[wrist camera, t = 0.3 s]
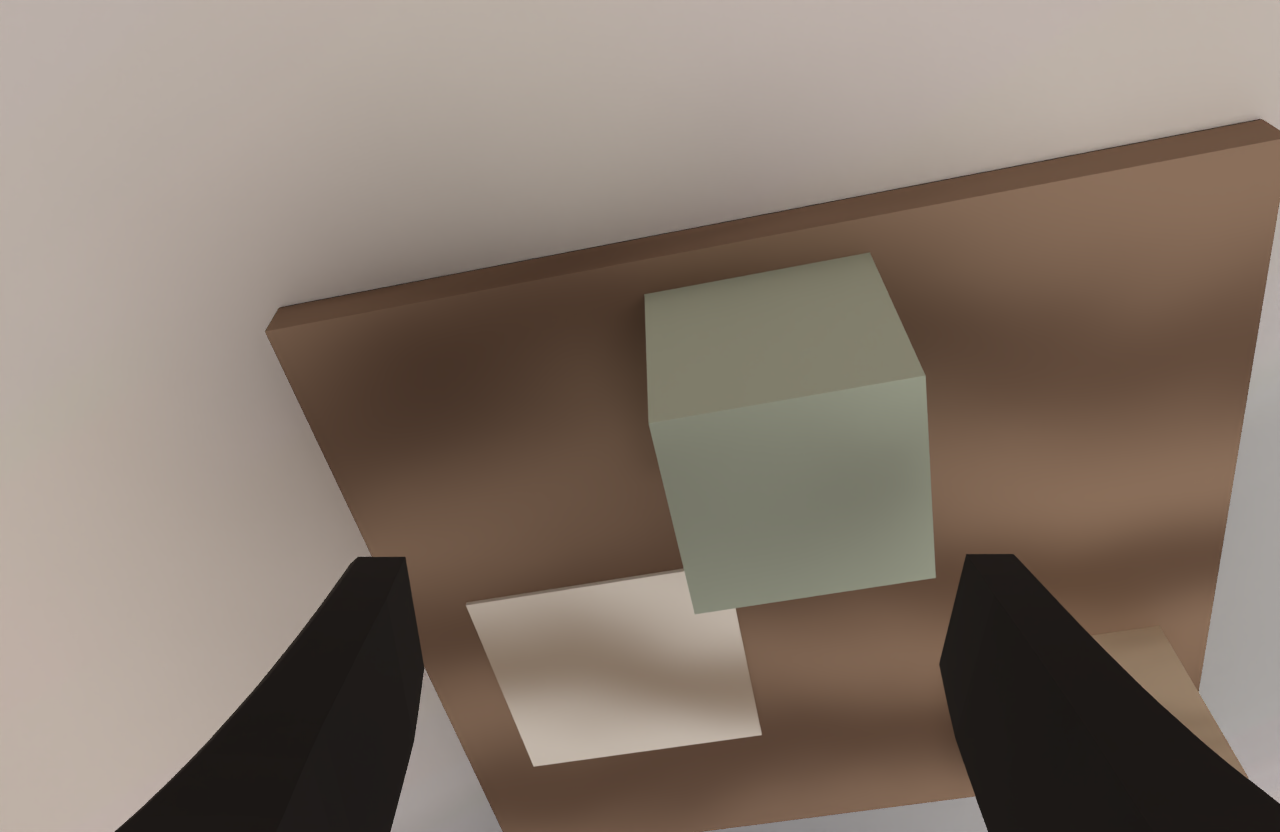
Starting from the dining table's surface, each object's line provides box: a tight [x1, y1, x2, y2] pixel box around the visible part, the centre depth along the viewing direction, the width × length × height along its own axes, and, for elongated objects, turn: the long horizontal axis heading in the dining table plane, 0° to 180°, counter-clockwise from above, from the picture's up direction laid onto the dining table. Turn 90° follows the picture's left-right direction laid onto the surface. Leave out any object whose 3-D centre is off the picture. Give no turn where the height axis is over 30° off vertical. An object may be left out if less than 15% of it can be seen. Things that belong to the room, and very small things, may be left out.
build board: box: [265, 119, 1280, 832], centre depth 25 cm, size 19×20×1 cm
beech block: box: [1092, 626, 1248, 778], centre depth 26 cm, size 4×4×4 cm
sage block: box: [644, 253, 936, 614], centre depth 20 cm, size 4×4×4 cm
